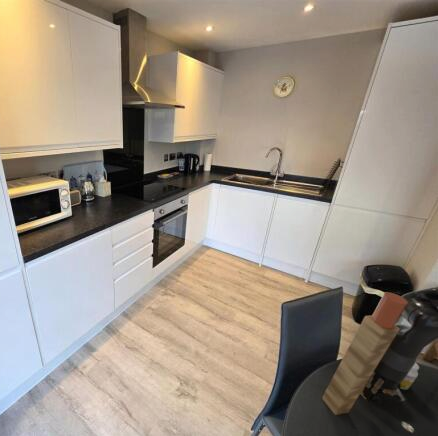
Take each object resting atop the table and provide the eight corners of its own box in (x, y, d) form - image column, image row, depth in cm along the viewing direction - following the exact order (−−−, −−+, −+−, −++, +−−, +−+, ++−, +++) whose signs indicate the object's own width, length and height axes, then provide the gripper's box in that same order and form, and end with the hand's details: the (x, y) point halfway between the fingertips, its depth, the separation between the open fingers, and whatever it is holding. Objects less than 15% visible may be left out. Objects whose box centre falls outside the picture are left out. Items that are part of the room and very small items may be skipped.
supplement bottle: (385, 371, 89) (397, 353, 86) (405, 380, 87) (418, 361, 83) (390, 384, 85) (403, 365, 81) (410, 393, 83) (425, 373, 79)
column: (334, 395, 80) (379, 314, 67) (348, 412, 76) (400, 328, 62) (321, 398, 79) (364, 315, 66) (335, 415, 75) (384, 330, 61)
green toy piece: (379, 393, 81) (385, 383, 79) (389, 402, 78) (396, 392, 76) (367, 395, 80) (374, 385, 78) (377, 405, 77) (383, 395, 75)
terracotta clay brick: (379, 315, 66) (393, 291, 63) (397, 327, 62) (412, 303, 59) (367, 316, 66) (379, 292, 63) (384, 329, 62) (398, 304, 59)
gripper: (431, 379, 64) (400, 419, 71) (379, 337, 76) (357, 375, 82) (409, 383, 62) (380, 423, 69) (359, 340, 74) (338, 378, 81)
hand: (367, 397), depth 76 cm, fingers closed
